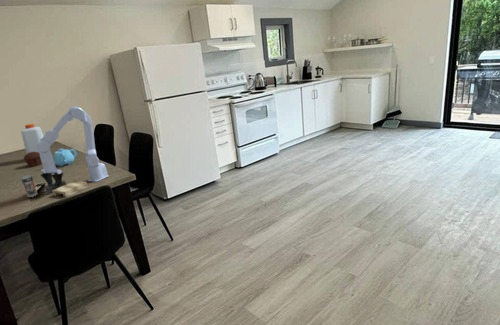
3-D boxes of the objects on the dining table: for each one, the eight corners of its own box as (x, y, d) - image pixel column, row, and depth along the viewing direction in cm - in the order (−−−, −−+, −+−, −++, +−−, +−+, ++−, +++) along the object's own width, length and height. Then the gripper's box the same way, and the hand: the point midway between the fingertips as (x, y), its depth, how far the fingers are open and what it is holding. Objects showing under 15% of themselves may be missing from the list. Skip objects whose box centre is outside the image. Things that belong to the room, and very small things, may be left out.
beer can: (28, 198, 172) (20, 178, 168) (27, 196, 176) (20, 176, 172) (38, 196, 175) (31, 175, 171) (37, 193, 178) (31, 173, 175)
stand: (75, 185, 184) (74, 180, 184) (88, 186, 180) (86, 181, 180) (53, 195, 172) (52, 190, 172) (66, 197, 168) (64, 191, 167)
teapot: (78, 159, 245) (73, 144, 241) (81, 163, 232) (76, 147, 228) (48, 165, 235) (43, 150, 231) (49, 170, 221) (44, 154, 218)
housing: (63, 185, 188) (61, 177, 186) (69, 185, 186) (66, 177, 184) (43, 193, 177) (41, 185, 176) (49, 194, 175) (47, 186, 174)
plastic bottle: (31, 158, 264) (20, 125, 256) (51, 154, 270) (41, 121, 261) (27, 162, 251) (15, 127, 242) (49, 158, 257) (38, 124, 248)
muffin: (29, 168, 233) (25, 155, 230) (24, 166, 240) (19, 154, 236) (47, 163, 242) (43, 150, 239) (41, 161, 248) (37, 149, 245)
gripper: (32, 164, 176) (40, 186, 180) (50, 165, 170) (57, 188, 174) (44, 160, 182) (51, 182, 186) (62, 161, 176) (68, 183, 180)
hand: (55, 185), depth 180 cm, fingers open, 7 cm apart
